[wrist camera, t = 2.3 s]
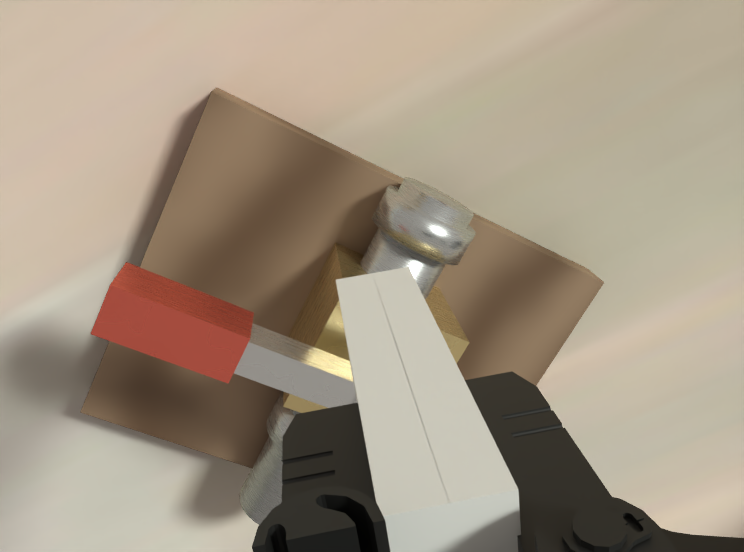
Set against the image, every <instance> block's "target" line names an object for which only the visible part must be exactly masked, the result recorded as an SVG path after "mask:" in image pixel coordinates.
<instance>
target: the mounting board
mask: <svg viewBox="0 0 744 552" xmlns="http://www.w3.org/2000/svg"><path fill="white" fill-rule="evenodd" d="M403 180H404V179H403V178H401V177H399V176H397V175H395V174H393V173H390V172H388V171H386V170H384V169H382V168H380V167H378V166H376V165H374V164H372V163H370V162H368V161H366V160H364V159H362V158H360V157H358V156H356V155H354V154H352V153H350V152H348V151H345V150H343V149H341V148H339V147H337V146H335V145H333V144H331V143H329V142H327V141H325V140H323V139H321V138H319V137H317V136H315V135H313V134H311V133H309V132H307V131H305V130H303V129H300V128H298V127H296V126H294V125H292V124H290V123H288V122H286V121H284V120H282V119H280V118H278V117H276V116H274V115H272V114H270V113H268V112H266V111H264V110H262V109H260V108H258V107H255V106H253V105H251V104H249V103H247V102H245V101H243V100H241V99H239V98H237V97H235V96H233V95H231V94H229V93H227V92H225V91H223V90H221V89H219V88H215V89H214V90H213V91H212V92H211V94H210V97H209V99H208V101H207V104H206V106H205V109H204V111H203V114H202V116H201V119H200V121H199V123H198V126H197V128H196V131H195V133H194V136H193V138H192V141H191V143H190V145H189V148H188V150H187V153H186V155H185V158H184V160H183V163H182V165H181V167H180V170H179V172H178V175H177V177H176V180H175V182H174V185H173V187H172V189H171V192H170V194H169V197H168V199H167V202H166V204H165V207H164V209H163V211H162V214H161V216H160V219H159V221H158V224H157V226H156V228H155V231H154V233H153V236H152V238H151V241H150V243H149V246H148V248H147V250H146V253H145V255H144V258H143V260H142V263H141V265H140V268H143V269H145V270H148V271H150V272H153V273H155V274H158V275H160V276H163V277H165V278H168V279H170V280H173V281H175V282H178V283H181V284H183V285H186V286H188V287H191V288H193V289H196V290H198V291H201V292H203V293H206V294H208V295H211V296H213V297H216V298H218V299H221V300H224V301H226V302H229V303H231V304H234V305H236V306H239V307H241V308H244V309H246V310H249V311H251V312H254V316H253V324H256V325H259V326H261V327H264V328H266V329H269V330H271V331H274V332H276V333H279V334H282V335H284V336H287V337H288V335H289V333H290V331H291V329H292V327H293V325H294V323H295V321H296V319H297V317H298V315H299V313H300V311H301V309H302V307H303V305H304V303H305V301H306V299H307V297H308V295H309V293H310V291H311V289H312V287H313V285H314V283H315V281H316V279H317V277H318V275H319V273H320V272H321V270H322V268H323V266H324V264H325V262H326V260H327V258H328V256H329V254H330V252H331V250H332V248H333V246H334V244H335V242H336V243H338V244H340V245H343V246H345V247H347V248H349V249H352V250H354V251H356V252H358V253H361V254H363V255H365V253H366V251H367V249H368V247H369V245H370V243H371V241H372V239H373V237H374V235H375V234H376V232H377V230H378V228H379V227H378V226H377V225H376V224H375V223H374V222H373V220H372V216H373V214H374V212H375V210H376V209H377V207H378V205H379V203H380V201H381V199H382V197H383V195H384V193H385V191H386V189H387V187H388V186H396V187H399V188H400V186H401V184H402V182H403ZM473 214H474V213H473ZM469 226H471V227H472V228H473V229H474V230H475V232H476V235H475V236H474V238H473V240H472V242H471V243H470V245H469V247H468V249H467V250H466V252H465V254H464V256H463V257H462V259H461V261H460V262H459V264H458V265H448V264H446V265H445V267H444V269H443V270H442V272H441V274H440V276H439V277H438V279H437V281H436V283H435V284H434V286H435V287H437V288H440V290H441V292H442V294H443V296H444V297H445V299H446V301H447V303H448V305H449V306H450V308H451V310H452V312H453V314H454V315H455V317H456V319H457V321H458V323H459V324H460V326H461V328H462V330H463V332H464V333H465V335H466V337H467V339H468V341H469V342H470V343H469V344H468V346H467V348H466V349H465V351H464V353H463V354H462V356H461V357H460V359H459V361H458V362H457V366H458V368H459V370H460V372H461V374H462V376H463V378H464V380H468V379H474V378H479V377H484V376H490V375H495V374H500V373H506V372H511V371H512V372H514V373H516V374H517V375H519V376H521V377H522V378H524V379H525V380H527V381H529V382H530V383H532V384H534V385H535V386H536V385H537V384H538V382H539V380H540V379H541V377H542V376H543V374H544V373H545V371H546V370H547V368H548V367H549V365H550V364H551V362H552V361H553V359H554V358H555V356H556V355H557V353H558V352H559V350H560V349H561V347H562V346H563V344H564V343H565V341H566V340H567V338H568V337H569V335H570V333H571V332H572V330H573V329H574V327H575V326H576V324H577V323H578V321H579V320H580V318H581V317H582V315H583V314H584V312H585V311H586V309H587V308H588V306H589V305H590V303H591V302H592V300H593V299H594V297H595V296H596V294H597V293H598V291H599V290H600V288H601V286H602V285H603V283H604V282H603V281H602V280H601V279H599V278H598V277H597V276H596V275H595V274H593V273H592V272H591V271H590V270H589V269H587V268H585V267H583V266H581V265H579V264H577V263H575V262H573V261H571V260H568V259H566V258H564V257H562V256H560V255H558V254H556V253H554V252H552V251H550V250H548V249H546V248H544V247H542V246H540V245H538V244H536V243H534V242H532V241H530V240H528V239H525V238H523V237H521V236H519V235H517V234H515V233H513V232H511V231H509V230H507V229H505V228H503V227H501V226H499V225H497V224H495V223H493V222H491V221H489V220H487V219H485V218H483V217H480V216H478V215H476V214H474V216H473V218H472V220H471V221H470V223H469ZM281 392H282V391H281V390H278V389H275V388H273V387H270V386H267V385H264V384H262V383H259V382H256V381H253V380H251V379H248V378H245V377H242V376H240V375H237V374H234V373H233V375H232V377H231V379H230V381H229V384H228V383H225V382H222V381H220V380H217V379H214V378H211V377H208V376H206V375H203V374H200V373H197V372H195V371H192V370H189V369H186V368H183V367H181V366H178V365H175V364H172V363H170V362H167V361H164V360H161V359H158V358H156V357H153V356H150V355H147V354H144V353H142V352H139V351H136V350H133V349H131V348H128V347H125V346H122V345H119V344H117V343H114V342H111V341H109V343H108V346H107V348H106V351H105V353H104V356H103V358H102V360H101V363H100V365H99V368H98V370H97V373H96V375H95V378H94V380H93V382H92V385H91V387H90V390H89V392H88V395H87V397H86V399H85V402H84V404H83V407H82V409H81V413H84V414H87V415H90V416H93V417H96V418H99V419H102V420H105V421H108V422H111V423H115V424H118V425H121V426H124V427H127V428H130V429H133V430H136V431H139V432H142V433H145V434H148V435H151V436H155V437H158V438H161V439H164V440H167V441H170V442H173V443H176V444H179V445H182V446H185V447H188V448H191V449H194V450H198V451H201V452H204V453H207V454H210V455H213V456H216V457H219V458H222V459H225V460H228V461H231V462H234V463H238V464H241V465H244V466H247V467H250V468H253V466H254V464H255V462H256V460H257V459H258V457H259V455H260V453H261V451H262V449H263V447H264V445H265V443H266V441H267V439H268V438H269V434H268V431H267V426H266V423H267V419H268V417H269V415H270V413H271V411H272V409H273V407H274V405H275V403H276V402H277V400H278V398H279V396H280V394H281Z"/></svg>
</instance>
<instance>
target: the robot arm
mask: <svg viewBox="0 0 744 552" xmlns="http://www.w3.org/2000/svg"><path fill="white" fill-rule="evenodd" d="M336 285H337V290H338V296H339V302H340V308H341V313H342V319H343V325H344V331H345V336H346V342H347V348H348V354H349V359H350V365H351V371H352V377H353V382H354V388H355V394H356V399H357V403H352V404H347V405H342V406H337V407H331V408H326V409H321V410H315V411H310V412H305V413H299V414H296V415H295V416H294V418H293V420H292V422H291V423H290V425H289V427H288V428H287V430H286V432H285V433H284V435H283V442H282V461H283V465H282V483H283V485H282V503H281V504H279V505H278V506H276V507H275V508H273V509H272V510H271V512H270V513H269V514H268V515H267V517H266V518H265V519H264V520H263V521H262V523H261V524H260V525H259V526H258V529H257V532H256V536H255V539H254V542H253V545H252V549H253V552H744V538H733V537H717V536H702V535H690V534H683V533H677V532H671V531H668V530H665V529H662V528H660V527H659V526H658V525H657V524H656V523H655V522H654V521H653V520H652V519H651V518H650V517H649V516H648V515H647V514H646V513H645V512H644V511H643V510H641V509H639V508H637V507H635V506H633V505H631V504H629V503H627V502H625V501H623V500H622V499H619V498H614V497H612V496H611V495H610V494H609V492H608V491H607V489H606V488H605V486H604V485H603V483H602V482H601V480H600V479H599V477H598V476H597V475H596V473H595V472H594V470H593V469H592V467H591V466H590V464H589V463H588V461H587V460H586V458H585V457H584V455H583V454H582V453H581V451H580V450H579V448H578V447H577V445H576V444H575V442H574V441H573V439H572V438H571V436H570V435H569V433H568V432H567V431H566V429H565V428H563V427H562V423H561V422H560V420H559V419H558V417H557V416H556V414H555V413H554V411H553V410H552V411H551V409H550V406H549V404H548V403H547V401H546V400H545V398H544V397H543V395H542V394H541V392H540V391H539V389H538V388H537V387H536V386H535V385H534V384H532V383H530V382H529V381H527V380H525V379H524V378H522V377H521V376H519V375H517V374H516V373H514V372H512V371H511V372H506V373H500V374H495V375H490V376H484V377H479V378H474V379H468V380H464V378H463V376H462V374H461V372H460V370H459V368H458V366H457V364H456V362H455V360H454V358H453V356H452V354H451V352H450V350H449V348H448V345H447V343H446V341H445V339H444V337H443V335H442V333H441V331H440V329H439V327H438V325H437V323H436V321H435V319H434V317H433V315H432V313H431V311H430V309H429V307H428V305H427V303H426V301H425V299H424V297H423V295H422V293H421V291H420V289H419V287H418V285H417V283H416V281H415V278H414V276H413V274H412V272H411V270H410V268H409V267H405V268H399V269H393V270H388V271H382V272H376V273H371V274H365V275H359V276H353V277H348V278H342V279H336Z"/></svg>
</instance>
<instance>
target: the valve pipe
mask: <svg viewBox="0 0 744 552" xmlns="http://www.w3.org/2000/svg"><path fill="white" fill-rule="evenodd" d="M473 216H474V214H473V213H472V212H471V211H470V210H469V209H468V208H466V207H465V206H464V205H462V204H461V203H459V202H458V201H456V200H454V199H453V198H451V197H449V196H447V195H446V194H444V193H442V192H440V191H438V190H436V189H434V188H432V187H430V186H428V185H426V184H424V183H422V182H419V181H417V180H414V179H411V178H407V177H405V178H404V180H403V182H402V184H401V186H400V188H399V187H396V186H388V187H387V189H386V191H385V193H384V195H383V197H382V199H381V201H380V203H379V205H378V207H377V209H376V210H375V212H374V214H373V216H372V220H373V222H374V223H375V224H376V225H377V226H378V227H379V228H378V230H377V232H376V234H375V235H374V237H373V239H372V241H371V243H370V245H369V247H368V249H367V251H366V253H365V255H363V254H361V253H358V252H356V251H354V250H352V249H349V248H347V247H345V246H343V245H340V244H338V243H336V242H335V244H334V246H333V248H332V250H331V252H330V254H329V256H328V258H327V260H326V262H325V264H324V266H323V268H322V270H321V272H320V273H319V275H318V277H317V279H316V281H315V283H314V285H313V287H312V289H311V291H310V293H309V295H308V297H307V299H306V301H305V303H304V305H303V307H302V309H301V311H300V313H299V315H298V317H297V319H296V321H295V323H294V325H293V327H292V329H291V331H290V333H289V335H288V337H289V338H292V339H294V340H297V341H299V342H302V343H305V344H307V345H310V346H312V347H315V348H317V349H320V350H323V351H325V352H328V353H330V354H333V355H335V356H338V357H340V358H343V359H346V360H348V361H350V359H349V354H348V348H347V342H346V336H345V331H344V325H343V319H342V313H341V308H340V302H339V296H338V290H337V285H336V279H342V278H348V277H353V276H359V275H365V274H371V273H376V272H382V271H388V270H393V269H399V268H405V267H409V268H410V270H411V272H412V274H413V276H414V278H415V281H416V283H417V285H418V287H419V289H420V291H421V293H422V295H423V297H424V299H425V301H426V303H427V305H428V307H429V309H430V311H431V313H432V315H433V317H434V319H435V321H436V323H437V325H438V327H439V329H440V331H441V333H442V335H443V337H444V339H445V341H446V343H447V345H448V348H449V350H450V352H451V354H452V356H453V358H454V360H455V362H456V364H457V362H458V361H459V359H460V357H461V356H462V354H463V353H464V351H465V349H466V348H467V346H468V344H469V343H470V342H469V341H468V339H467V337H466V335H465V333H464V332H463V330H462V328H461V326H460V324H459V323H458V321H457V319H456V317H455V315H454V314H453V312H452V310H451V308H450V306H449V305H448V303H447V301H446V299H445V297H444V296H443V294H442V292H441V290H440V288H437V287H435V286H434V284H435V283H436V281H437V279H438V277H439V276H440V274H441V272H442V270H443V269H444V267H445V265H446V264H448V265H458V264H459V262H460V261H461V259H462V257H463V256H464V254H465V252H466V250H467V249H468V247H469V245H470V243H471V242H472V240H473V238H474V236H475V235H476V232H475V230H474V229H473V228H472V227H471V226H469V223H470V221H471V220H472V218H473ZM326 408H327V407H325V406H322V405H319V404H316V403H314V402H311V401H308V400H305V399H303V398H300V397H297V396H294V395H292V394H289V393H286V392H284V391H282V392H281V394H280V396H279V398H278V400H277V402H276V403H275V405H274V407H273V409H272V411H271V413H270V415H269V417H268V419H267V423H266V426H267V431H268V434H269V438H268V439H267V441H266V443H265V445H264V447H263V449H262V451H261V453H260V455H259V457H258V459H257V460H256V462H255V464H254V466H253V468H252V470H251V472H250V474H249V476H248V478H247V480H246V481H245V483H244V485H243V487H242V489H241V491H240V503H241V506H242V508H243V510H244V511H245V513H246V514H247V515H248V516H249V517H250V518H251V519H252V520H253V521H254V522H256V523H257V524H259V525H260V524H261V523H262V521H263V520H264V519H265V518H266V517H267V515H268V514H269V513H270V512H271V510H272V509H273V508H275V507H276V506H278V505H279V504H281V503H282V485H283V483H282V465H283V461H282V442H283V435H284V433H285V432H286V430H287V428H288V427H289V425H290V423H291V422H292V420H293V418H294V416H295V415H296V414H299V413H305V412H310V411H315V410H321V409H326Z"/></svg>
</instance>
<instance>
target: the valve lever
mask: <svg viewBox="0 0 744 552" xmlns="http://www.w3.org/2000/svg"><path fill="white" fill-rule="evenodd" d="M253 316H254V312H251V311H249V310H246V309H244V308H241V307H239V306H236V305H234V304H231V303H229V302H226V301H224V300H221V299H218V298H216V297H213V296H211V295H208V294H206V293H203V292H201V291H198V290H196V289H193V288H191V287H188V286H186V285H183V284H181V283H178V282H175V281H173V280H170V279H168V278H165V277H163V276H160V275H158V274H155V273H153V272H150V271H148V270H145V269H143V268H140V267H138V266H135V265H133V264H130V263H127V262H126V263H125V265H124V266H123V268H122V269H121V270H120V272H119V273H118V275H117V276H116V277H115V279H114V280H113V282H112V283H111V284H110V287H109V289H108V292H107V294H106V297H105V299H104V302H103V304H102V307H101V309H100V312H99V314H98V317H97V319H96V322H95V324H94V327H93V329H92V332H91V334H92V335H94V336H97V337H100V338H103V339H106V340H108V341H111V342H114V343H117V344H119V345H122V346H125V347H128V348H131V349H133V350H136V351H139V352H142V353H144V354H147V355H150V356H153V357H156V358H158V359H161V360H164V361H167V362H170V363H172V364H175V365H178V366H181V367H183V368H186V369H189V370H192V371H195V372H197V373H200V374H203V375H206V376H208V377H211V378H214V379H217V380H220V381H222V382H225V383H228V384H229V381H230V379H231V377H232V375H233V373H234V374H237V375H240V376H242V377H245V378H248V379H251V380H253V381H256V382H259V383H262V384H264V385H267V386H270V387H273V388H275V389H278V390H281V391H284V392H286V393H289V394H292V395H294V396H297V397H300V398H303V399H305V400H308V401H311V402H314V403H316V404H319V405H322V406H325V407H327V408H331V407H337V406H342V405H347V404H352V403H357V399H356V394H355V388H354V382H353V377H352V371H351V365H350V361H348V360H346V359H343V358H340V357H338V356H335V355H333V354H330V353H328V352H325V351H323V350H320V349H317V348H315V347H312V346H310V345H307V344H305V343H302V342H299V341H297V340H294V339H292V338H289V337H287V336H284V335H282V334H279V333H276V332H274V331H271V330H269V329H266V328H264V327H261V326H259V325H256V324H253Z"/></svg>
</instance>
